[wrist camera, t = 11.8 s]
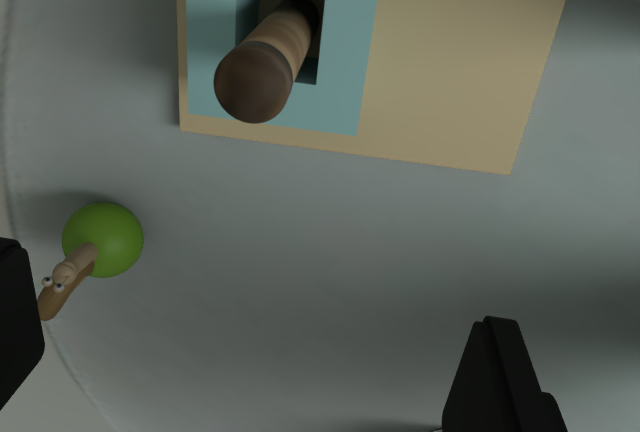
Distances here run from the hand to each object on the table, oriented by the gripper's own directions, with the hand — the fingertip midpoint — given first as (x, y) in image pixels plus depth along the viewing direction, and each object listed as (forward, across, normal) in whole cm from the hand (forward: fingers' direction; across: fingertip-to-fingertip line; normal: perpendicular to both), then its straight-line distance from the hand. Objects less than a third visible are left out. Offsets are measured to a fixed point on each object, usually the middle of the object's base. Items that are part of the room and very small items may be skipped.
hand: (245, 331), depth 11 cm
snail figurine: (+25, +15, +14) cm, 32 cm away
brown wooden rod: (+24, +2, -2) cm, 24 cm away
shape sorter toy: (+25, -1, -2) cm, 25 cm away
